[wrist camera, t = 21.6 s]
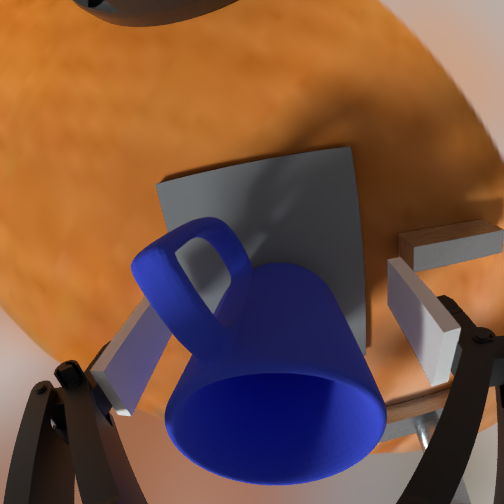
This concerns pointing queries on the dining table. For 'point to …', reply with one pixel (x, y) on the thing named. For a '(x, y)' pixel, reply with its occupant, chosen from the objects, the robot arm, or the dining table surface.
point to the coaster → (277, 223)
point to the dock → (423, 258)
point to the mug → (261, 367)
